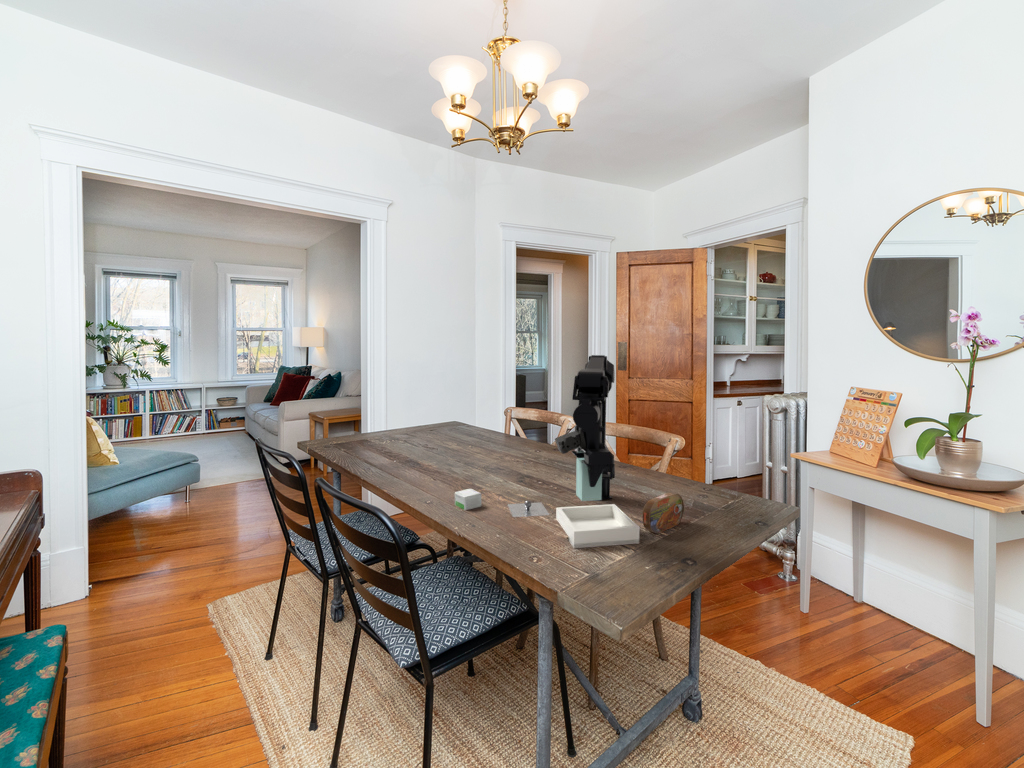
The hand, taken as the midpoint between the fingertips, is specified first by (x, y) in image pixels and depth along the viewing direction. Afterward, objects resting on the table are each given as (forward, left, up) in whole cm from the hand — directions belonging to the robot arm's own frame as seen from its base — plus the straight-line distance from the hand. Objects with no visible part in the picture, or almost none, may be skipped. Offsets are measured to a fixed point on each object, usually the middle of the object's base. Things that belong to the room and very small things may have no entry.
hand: (588, 483), depth 122 cm
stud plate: (+13, -15, -12) cm, 23 cm away
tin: (-19, +1, -12) cm, 23 cm away
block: (0, 0, -4) cm, 4 cm away
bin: (-1, +1, -12) cm, 12 cm away
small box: (+29, -21, -12) cm, 37 cm away
